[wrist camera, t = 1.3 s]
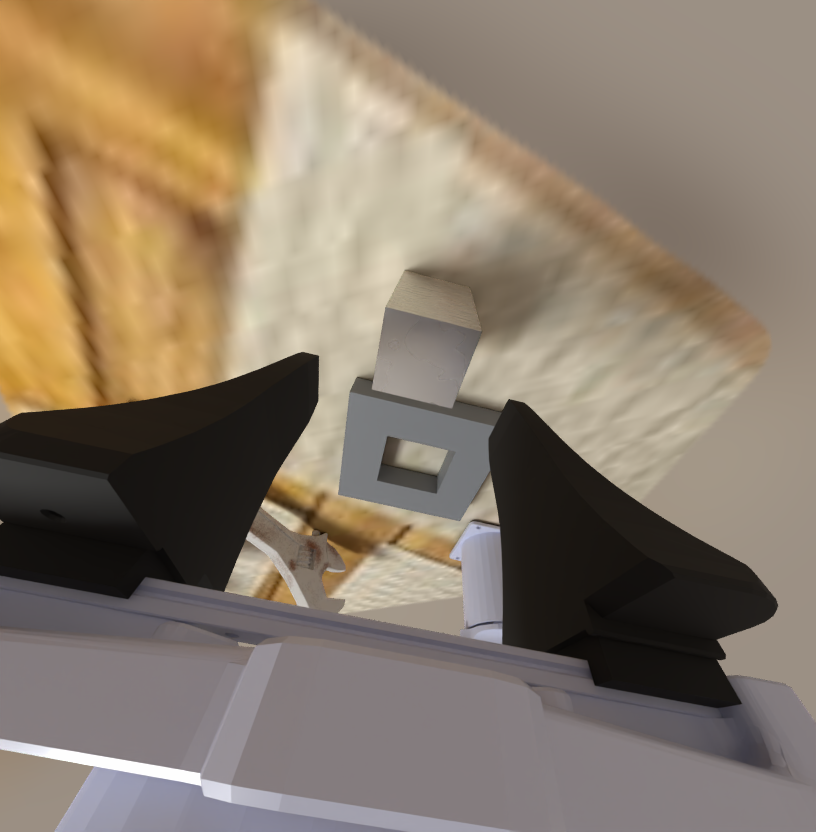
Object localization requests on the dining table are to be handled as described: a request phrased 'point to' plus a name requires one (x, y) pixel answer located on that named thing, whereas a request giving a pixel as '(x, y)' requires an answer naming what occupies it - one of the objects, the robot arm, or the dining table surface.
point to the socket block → (422, 424)
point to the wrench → (298, 560)
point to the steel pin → (426, 340)
